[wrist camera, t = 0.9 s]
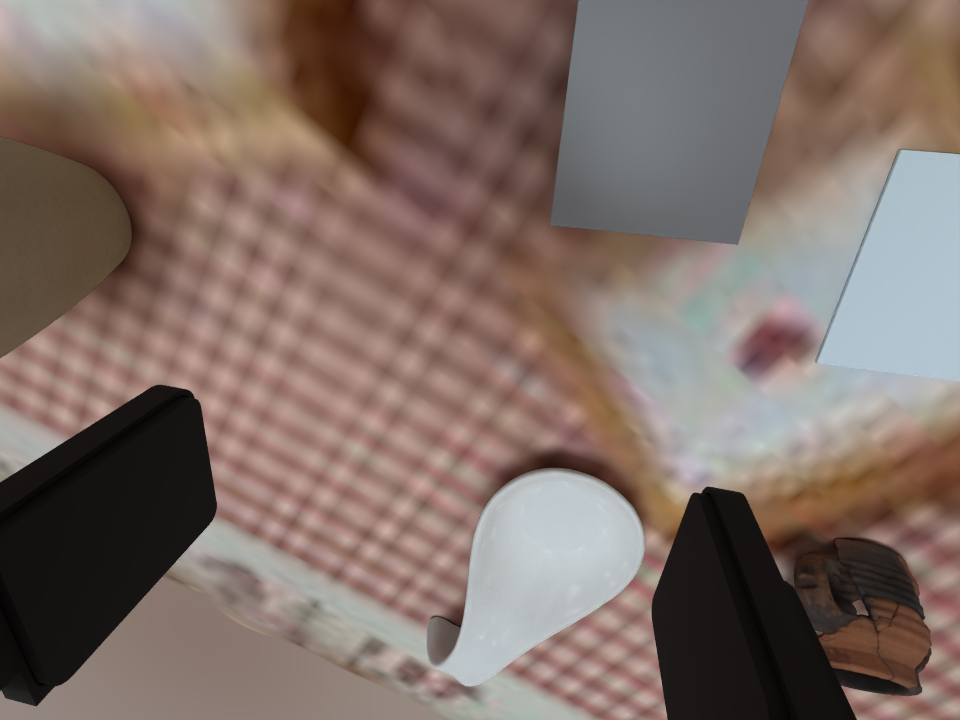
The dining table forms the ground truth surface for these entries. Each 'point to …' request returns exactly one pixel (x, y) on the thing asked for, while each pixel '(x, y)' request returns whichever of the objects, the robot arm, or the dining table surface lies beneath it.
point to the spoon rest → (537, 569)
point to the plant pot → (52, 237)
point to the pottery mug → (866, 639)
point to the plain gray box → (671, 114)
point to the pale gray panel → (905, 277)
